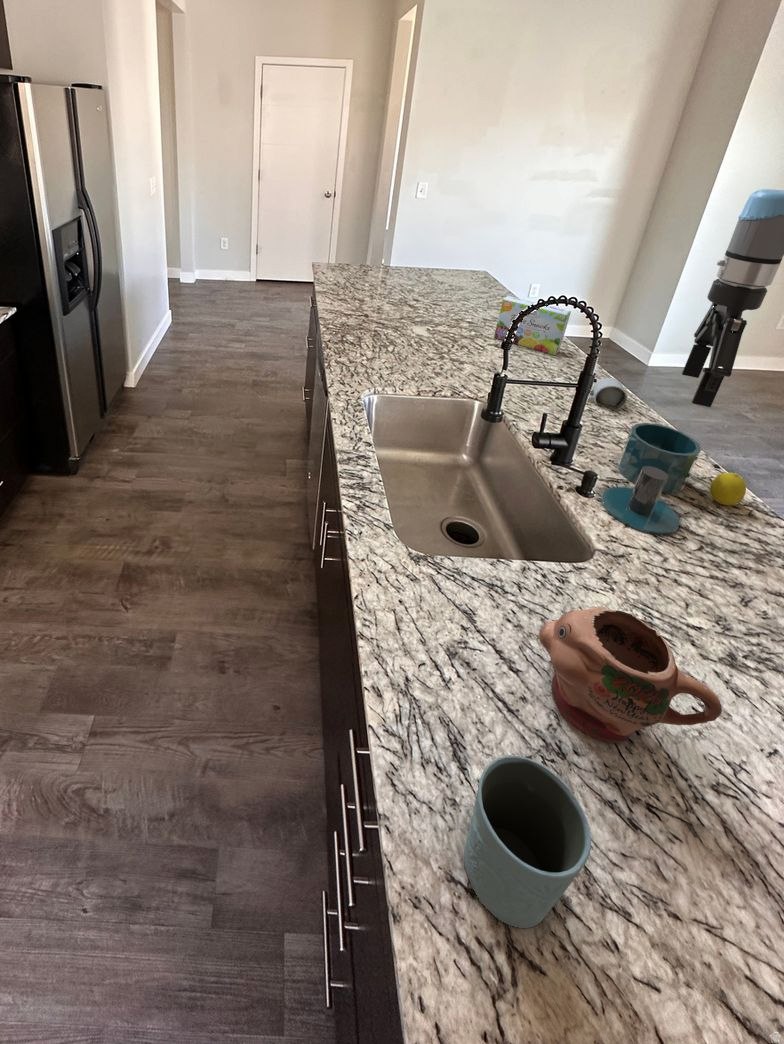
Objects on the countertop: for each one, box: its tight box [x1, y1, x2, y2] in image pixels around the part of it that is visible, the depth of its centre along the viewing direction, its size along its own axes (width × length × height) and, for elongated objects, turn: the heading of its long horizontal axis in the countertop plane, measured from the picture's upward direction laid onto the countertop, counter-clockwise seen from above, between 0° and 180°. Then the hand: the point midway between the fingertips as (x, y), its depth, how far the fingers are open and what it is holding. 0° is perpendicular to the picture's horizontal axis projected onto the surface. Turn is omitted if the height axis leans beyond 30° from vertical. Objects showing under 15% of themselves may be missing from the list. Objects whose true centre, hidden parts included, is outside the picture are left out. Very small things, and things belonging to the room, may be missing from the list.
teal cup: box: [463, 754, 592, 929], centre depth 55 cm, size 10×10×12 cm
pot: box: [617, 422, 702, 495], centre depth 119 cm, size 13×13×10 cm
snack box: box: [493, 295, 572, 356], centre depth 185 cm, size 21×6×15 cm, turn 49°
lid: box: [600, 466, 680, 536], centre depth 108 cm, size 14×14×10 cm
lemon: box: [709, 472, 747, 506], centre depth 112 cm, size 6×6×8 cm
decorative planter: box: [538, 606, 723, 744], centre depth 70 cm, size 20×12×14 cm, turn 63°
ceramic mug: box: [587, 377, 628, 410], centre depth 150 cm, size 11×8×8 cm
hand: (695, 389), depth 103 cm, fingers open, 13 cm apart
